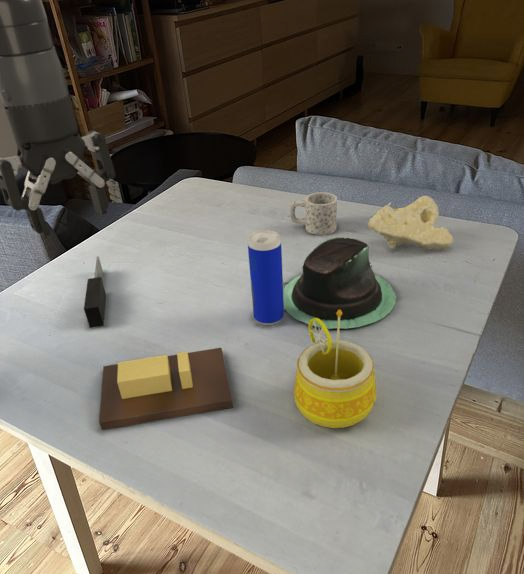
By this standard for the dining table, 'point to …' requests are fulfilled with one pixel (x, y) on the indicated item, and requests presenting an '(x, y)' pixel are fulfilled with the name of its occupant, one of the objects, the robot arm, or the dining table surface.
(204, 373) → the board
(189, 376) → the butter slice
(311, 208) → the mug
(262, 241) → the beverage can
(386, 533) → the dining table surface
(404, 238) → the cheese
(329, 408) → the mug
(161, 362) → the butter block
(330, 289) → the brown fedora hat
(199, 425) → the dining table surface
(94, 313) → the knife
